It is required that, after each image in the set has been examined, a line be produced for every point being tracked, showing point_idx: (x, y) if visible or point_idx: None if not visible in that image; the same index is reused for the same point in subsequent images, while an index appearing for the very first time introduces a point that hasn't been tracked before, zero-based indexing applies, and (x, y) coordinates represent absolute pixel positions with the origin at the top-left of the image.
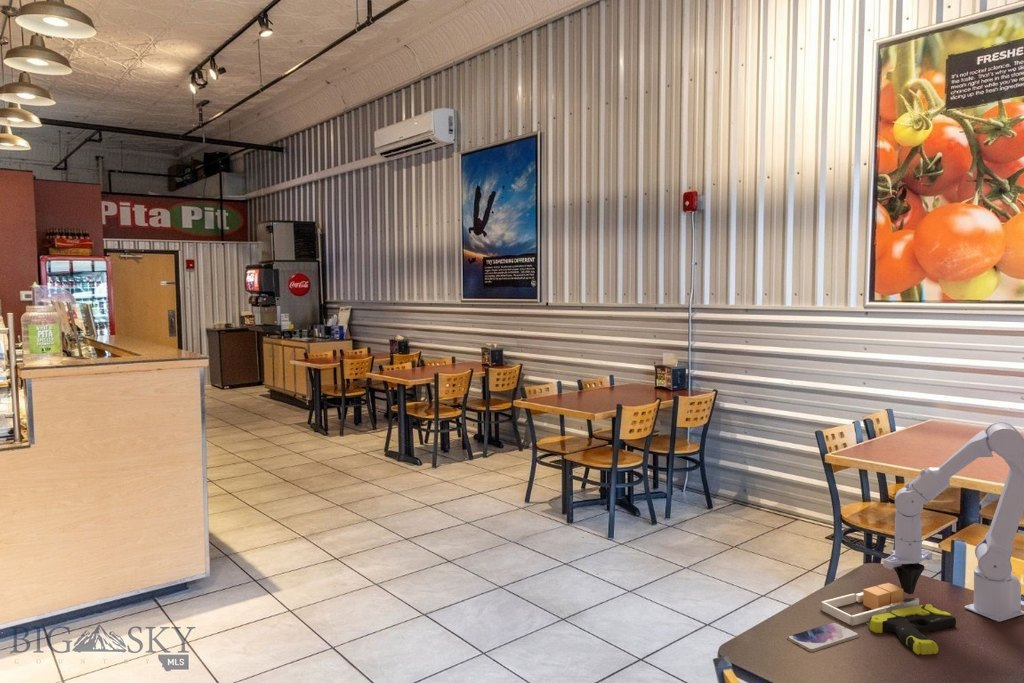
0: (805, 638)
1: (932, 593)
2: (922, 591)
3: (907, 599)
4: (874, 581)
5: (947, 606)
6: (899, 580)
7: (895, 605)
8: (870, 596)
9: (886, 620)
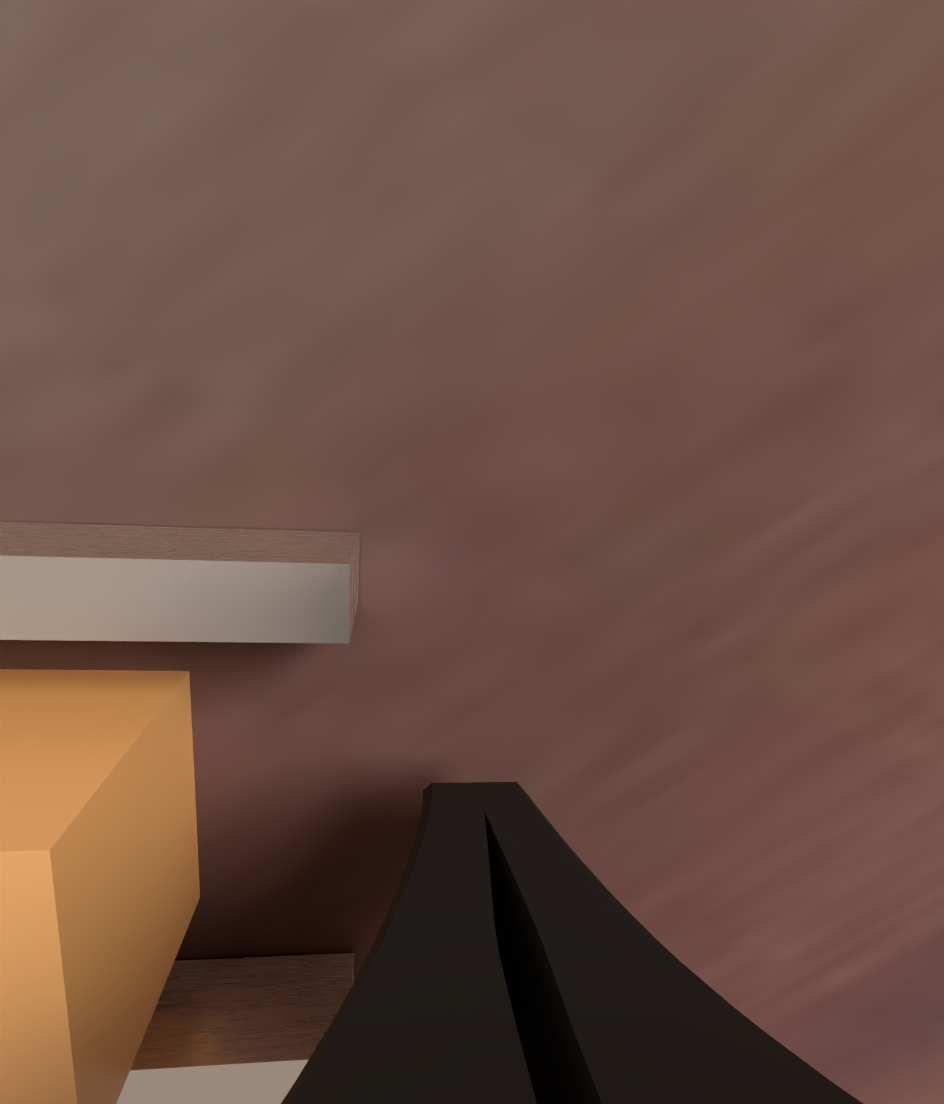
0: None
1: (883, 816)
2: (846, 724)
3: (146, 1074)
4: (605, 60)
5: None
6: (393, 905)
7: None
8: None
9: None
